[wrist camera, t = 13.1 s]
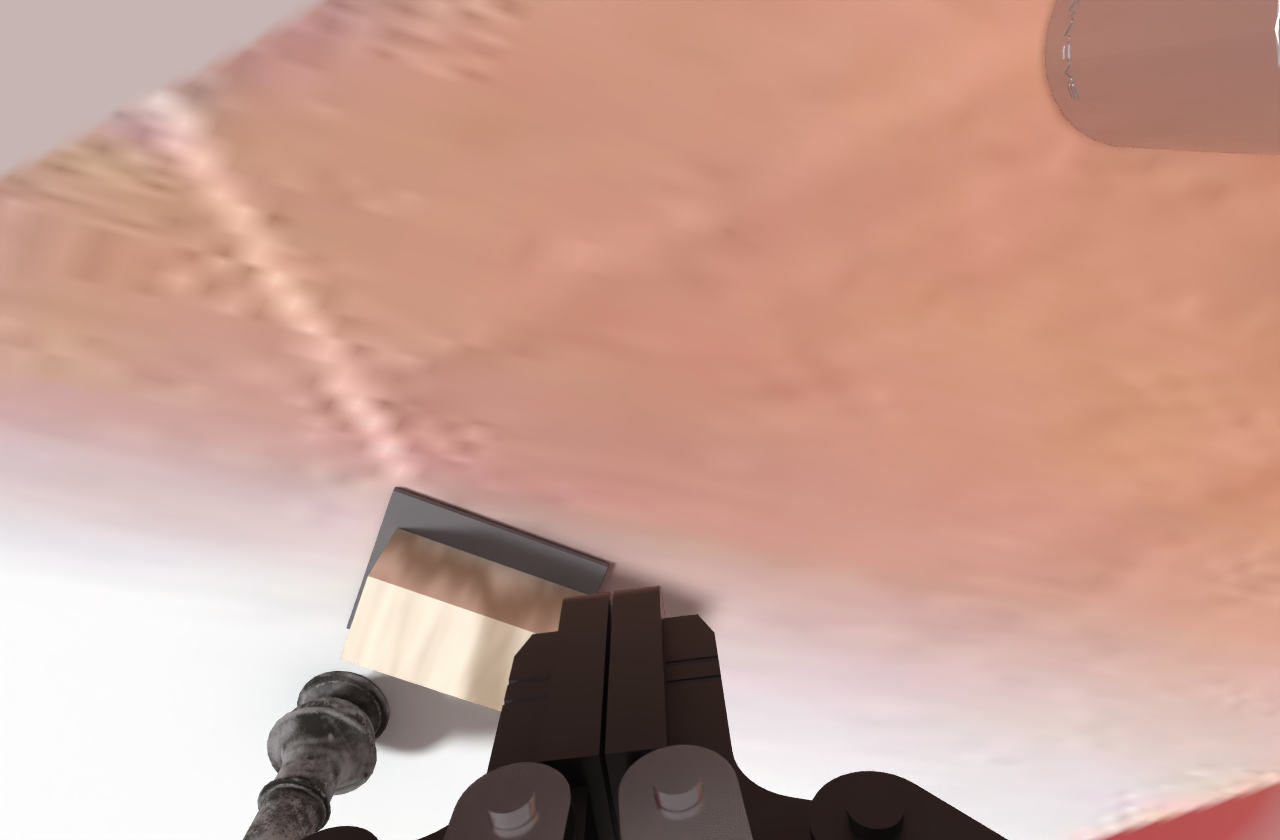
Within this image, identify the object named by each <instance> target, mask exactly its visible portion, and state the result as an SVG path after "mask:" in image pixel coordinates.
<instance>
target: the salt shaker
mask: <svg viewBox="0 0 1280 840" xmlns="http://www.w3.org/2000/svg"><path fill="white" fill-rule="evenodd" d="M388 719H389V706H388V703H387V700H386V698H385V696H384V695H383V693H382V692H381V690H380V689H379V688H378V687H377V686H376V685H374V684H373V683H372V682H371V681H369V680H368V679H366V678H364V677H362V676H360V675H357V674H353V673H350V672H341V671H334V672H327V673H323V674H321V675H318V676H316V677H314V678H313V679H311V680H310V681H309V682H308V683H306V685H305V686H304V688H303V689H302V690H301V692H300V694H299V698H298V701H297V708H296V709H294V710H293V711H292V712H290V713H287V714H286V715H285V716H283V717H282V718H281V719H279V720H278V721H277V722H276V724H275V725H274V727H273V728H272V730H271V731H270V734H269V737H268V741H267V750H268V756H269V759H270V761H271V764H272V766H273V767H274V769H275V770H276V771H277V773H278V774H277V776H276V778H275V780H274V781H271V782H269V783H268V784H267V785H266V786H264V788H263V789H262V791H261V792H260V794H259V797H258V809H259V812H258V813H257V815H256V817H255V819H254V821H253V822H252V824H251V826H250V828H249V830H248V831H247V833H246V835H245V837H244V839H243V840H301V839H303V838H304V837H306V836H309V835H311V834H313V833H315V832H318V831H319V830H320V829H322V828H323V827H324V826H325V825H326V823H327V822H328V820H329V817H330V813H331V809H330V801H331V799H332V797H333V795H340V794H345V793H348V792H350V791H353V790H355V789H357V788H358V787H360V786H361V785H362V784H364V783H365V782H366V781H367V780H368V778H369V777H370V776H371V774H372V773H373V770H374V767H375V764H376V761H377V756H376V747H375V739H376V738H378V737H379V736H380V735H381V734H382V732H383V731H384V730H385V728H386V726H387V723H388Z"/></svg>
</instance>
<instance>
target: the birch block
mask: <svg viewBox="0 0 1280 840" xmlns="http://www.w3.org/2000/svg"><path fill="white" fill-rule="evenodd" d="M581 595H587V594H584V593H581V592H578V591H576V590H573V589H570V588H567V587H564V586H561V585H559V584H556V583H553V582H550V581H547V580H544V579H541V578H539V577H536V576H533V575H530V574H527V573H524V572H522V571H519V570H516V569H513V568H510V567H507V566H504V565H502V564H499V563H496V562H493V561H490V560H487V559H485V558H482V557H479V556H476V555H473V554H470V553H468V552H465V551H462V550H459V549H456V548H453V547H450V546H448V545H445V544H442V543H439V542H436V541H433V540H431V539H428V538H425V537H422V536H419V535H416V534H413V533H411V532H408V531H405V530H402V529H399V528H396V530H395V532H394V533H393V535H392V537H391V538H390V540H389V542H388V543H387V545H386V547H385V548H384V550H383V552H382V553H381V555H380V557H379V558H378V560H377V562H376V563H375V565H374V567H373V568H372V570H371V572H370V573H369V575H368V577H367V580H366V583H365V586H364V589H363V592H362V595H361V598H360V601H359V604H358V607H357V610H356V613H355V616H354V619H353V622H352V625H351V628H350V630H349V633H348V636H347V639H346V642H345V645H344V648H343V651H342V654H341V657H340V659H341V660H344V661H347V662H350V663H353V664H356V665H359V666H362V667H365V668H369V669H372V670H375V671H378V672H381V673H384V674H387V675H390V676H393V677H396V678H399V679H402V680H405V681H408V682H411V683H414V684H417V685H420V686H424V687H427V688H430V689H433V690H436V691H439V692H442V693H445V694H448V695H451V696H454V697H457V698H460V699H463V700H466V701H469V702H472V703H475V704H478V705H482V706H485V707H488V708H491V709H494V710H497V711H500V712H501V710H502V706H503V705H504V698H505V693H506V689H507V685H509V676H510V672H511V668H512V663H513V659H514V656H515V655H516V653H517V652H518V651H519V650H520V649H521V647H522V646H523V645H524V644H525V643H526V641H527V640H528V639H529V638H530V636H531V635H532V634H538V633H546V632H555V631H558V627H559V621H560V614H561V608H562V602H563V599H564V598H565V597H573V596H581Z"/></svg>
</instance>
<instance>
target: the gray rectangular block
mask: <svg viewBox="0 0 1280 840" xmlns="http://www.w3.org/2000/svg"><path fill="white" fill-rule="evenodd" d="M396 528H399V529H402V530H405V531H408V532H411V533H413V534H416V535H419V536H422V537H425V538H428V539H431V540H433V541H436V542H439V543H442V544H445V545H448V546H450V547H453V548H456V549H459V550H462V551H465V552H468V553H470V554H473V555H476V556H479V557H482V558H485V559H487V560H490V561H493V562H496V563H499V564H502V565H504V566H507V567H510V568H513V569H516V570H519V571H522V572H524V573H527V574H530V575H533V576H536V577H539V578H541V579H544V580H547V581H550V582H553V583H556V584H559V585H561V586H564V587H567V588H570V589H573V590H576V591H578V592H581V593H584V594H587V595H590V594H596V593H597V591H598V588H599V586H600V584H601V582H602V579H603V577H604V575H605V573H606V571H607V568H608V563H605V562H602V561H599V560H596V559H594V558H591V557H588V556H585V555H582V554H580V553H577V552H574V551H571V550H569V549H566V548H563V547H560V546H557V545H555V544H552V543H549V542H546V541H543V540H541V539H538V538H535V537H532V536H530V535H527V534H524V533H521V532H518V531H516V530H513V529H510V528H507V527H505V526H502V525H499V524H496V523H493V522H491V521H488V520H485V519H482V518H479V517H477V516H474V515H471V514H468V513H466V512H463V511H460V510H457V509H454V508H452V507H449V506H446V505H443V504H440V503H438V502H435V501H432V500H429V499H427V498H424V497H421V496H418V495H415V494H413V493H410V492H407V491H404V490H402V489H399V488H396V487H395V489H394V490H393V493H392V496H391V498H390V501H389V504H388V507H387V510H386V513H385V516H384V519H383V522H382V525H381V528H380V531H379V534H378V537H377V540H376V543H375V546H374V549H373V551H372V554H371V557H370V560H369V563H368V566H367V569H366V572H365V575H364V578H363V581H362V584H361V587H360V590H359V593H358V596H357V599H356V602H355V605H354V607H353V610H352V613H351V616H350V619H349V622H348V625H347V628H348V629H350V628H351V625H352V622H353V619H354V616H355V613H356V610H357V607H358V604H359V601H360V598H361V595H362V592H363V589H364V586H365V583H366V580H367V577H368V575H369V573H370V572H371V570H372V568H373V567H374V565H375V563H376V562H377V560H378V558H379V557H380V555H381V553H382V552H383V550H384V548H385V547H386V545H387V543H388V542H389V540H390V538H391V537H392V535H393V533H394V532H395V530H396Z"/></svg>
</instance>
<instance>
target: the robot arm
mask: <svg viewBox="0 0 1280 840" xmlns="http://www.w3.org/2000/svg"><path fill="white" fill-rule="evenodd" d="M1045 61H1046V75H1047V79H1048V82H1049V85H1050V89H1051V92H1052V96H1053V98H1054V100H1055V101H1056V103H1057V105H1058V107H1059V108H1060V110H1061V112H1062V114H1063V115H1064V116H1065V117H1066V118H1067V119H1068V120H1069V121H1070V122H1071V124H1072V125H1073V126H1074V127H1075V128H1076V129H1077V130H1079V131H1080V132H1082V133H1084V134H1085V135H1087V136H1088V137H1090V138H1092V139H1093V140H1096V141H1099V142H1102V143H1105V144H1108V145H1111V146H1117V147H1132V148H1149V149H1168V150H1179V151H1201V152H1222V153H1244V154H1265V155H1280V0H1057V2H1056V4H1055V7H1054V10H1053V13H1052V16H1051V20H1050V23H1049V26H1048V30H1047V39H1046V47H1045ZM301 840H378V839H377V837H375V836H374V835H373V834H372V833H371V832H369V831H367V830H365V829H363V828H359V827H353V826H339V827H333V828H328V829H325V830H321V831H318V832H316V833H313V834H311V835H309V836H306V837H304V838H303V839H301ZM418 840H1007V839H1006V838H1004V837H1002V836H1001V835H999V834H997V833H996V832H994V831H992V830H991V829H989V828H987V827H986V826H984V825H982V824H981V823H979V822H977V821H976V820H974V819H972V818H971V817H969V816H967V815H966V814H964V813H962V812H961V811H959V810H957V809H956V808H954V807H952V806H951V805H949V804H947V803H946V802H944V801H942V800H941V799H939V798H937V797H936V796H934V795H932V794H931V793H929V792H928V791H926V790H924V789H923V788H921V787H919V786H918V785H916V784H914V783H912V782H910V781H908V780H906V779H904V778H901V777H899V776H896V775H893V774H888V773H884V772H875V771H860V772H854V773H849V774H845V775H842V776H840V777H837V778H835V779H833V780H831V781H830V782H828V783H827V784H825V785H824V786H823V787H822V788H821V789H820V790H819V791H818V792H817V794H816V795H815V797H814V798H813V800H806V799H799V798H793V797H788V796H783V795H779V794H776V793H773V792H770V791H768V790H766V789H764V788H762V787H760V786H758V785H757V784H755V783H754V782H752V781H751V780H750V779H748V778H747V777H746V776H745V775H744V774H743V773H742V771H741V770H740V769H739V767H738V766H737V764H736V762H735V760H734V756H733V752H732V747H731V740H730V733H729V727H728V720H727V713H726V707H725V700H724V693H723V687H722V680H721V673H720V667H719V660H718V654H717V647H716V640H715V634H714V632H713V631H712V630H711V628H710V627H709V626H708V625H707V624H706V623H705V622H704V621H703V620H702V619H701V618H700V616H699V615H698V614H697V615H688V616H680V617H672V618H665V612H664V606H663V599H662V593H661V588H660V586H655V587H647V588H638V589H630V590H622V591H614V593H613V598H612V594H611V592H606V593H598V594H590V595H581V596H573V597H565V598H564V599H563V602H562V608H561V614H560V621H559V627H558V631H555V632H546V633H538V634H532V635H531V636H530V638H529V639H528V640H527V641H526V643H525V644H524V645H523V646H522V647H521V649H520V650H519V651H518V652H517V653H516V655H515V656H514V659H513V663H512V668H511V672H510V676H509V685H507V689H506V693H505V698H504V705H503V706H502V710H501V715H500V719H499V723H498V728H497V732H496V736H495V740H494V745H493V749H492V753H491V758H490V762H489V766H488V770H487V774H485V775H483V776H482V777H480V778H479V779H477V780H476V781H475V782H474V783H473V784H471V785H470V786H469V787H468V788H467V789H466V791H465V792H464V793H463V794H462V796H461V797H460V798H459V800H458V802H457V804H456V806H455V808H454V811H453V814H452V816H451V819H450V822H449V825H447V826H446V827H444V828H442V829H440V830H439V831H437V832H435V833H433V834H430V835H428V836H426V837H423V838H420V839H418Z"/></svg>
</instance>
